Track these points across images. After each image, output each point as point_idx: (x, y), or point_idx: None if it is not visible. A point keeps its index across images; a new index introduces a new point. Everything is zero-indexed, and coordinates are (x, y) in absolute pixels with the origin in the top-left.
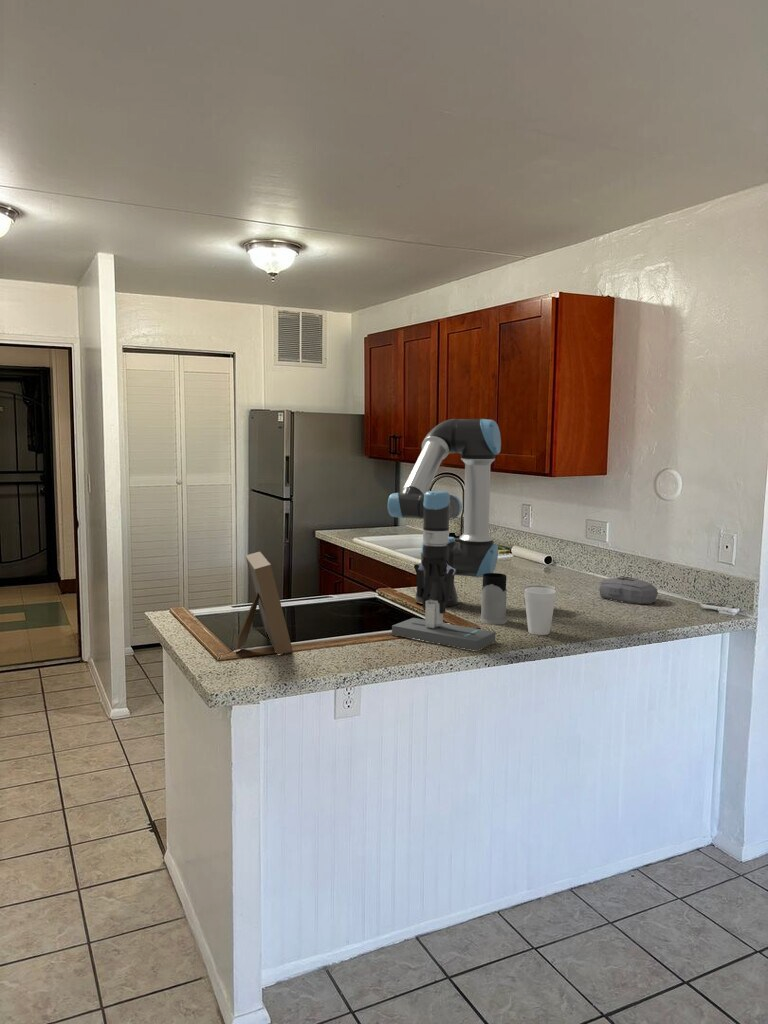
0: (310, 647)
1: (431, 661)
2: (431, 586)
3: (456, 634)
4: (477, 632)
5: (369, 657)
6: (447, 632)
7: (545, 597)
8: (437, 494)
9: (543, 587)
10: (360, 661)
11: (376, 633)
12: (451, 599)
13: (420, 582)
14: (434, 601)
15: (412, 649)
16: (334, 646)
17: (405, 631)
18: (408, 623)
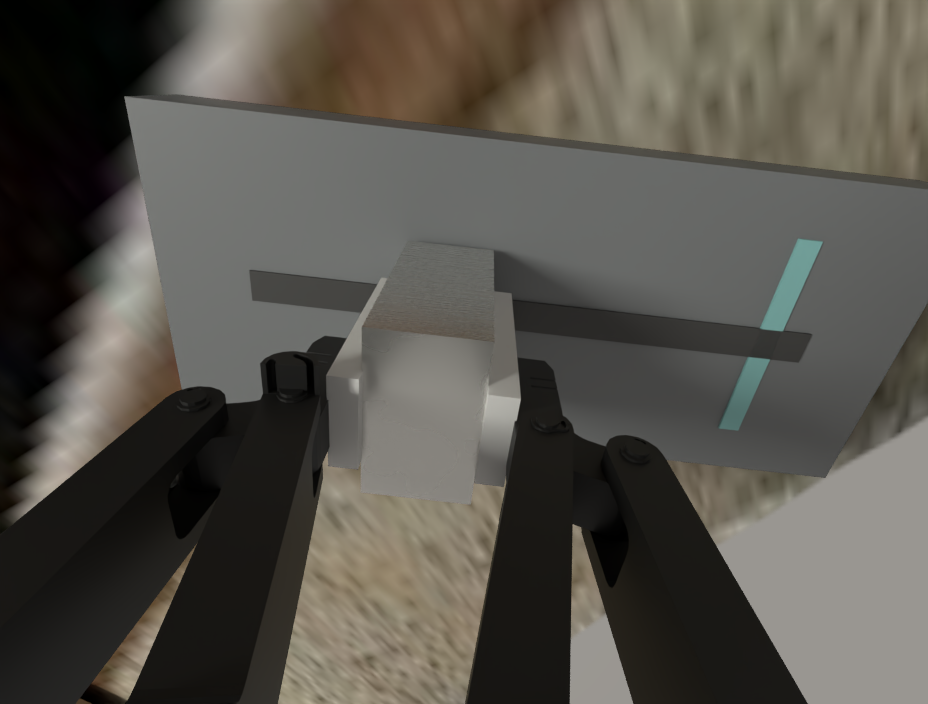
0: None
1: (602, 615)
2: (289, 531)
3: (665, 405)
4: (818, 289)
5: (361, 652)
6: (591, 389)
7: None
8: None
9: None
10: (363, 687)
11: (118, 370)
12: (653, 452)
13: (101, 654)
14: (396, 379)
15: (456, 524)
16: (155, 605)
17: None
18: (230, 304)
